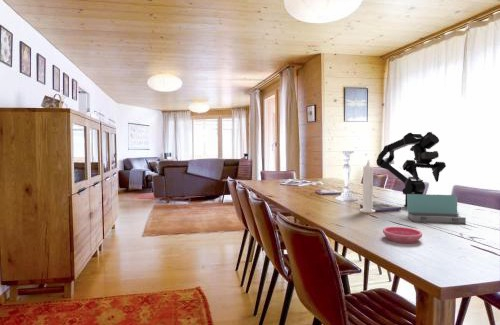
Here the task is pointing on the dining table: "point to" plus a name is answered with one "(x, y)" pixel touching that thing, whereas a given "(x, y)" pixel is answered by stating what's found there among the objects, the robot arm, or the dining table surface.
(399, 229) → the saucer
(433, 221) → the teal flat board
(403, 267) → the dining table surface
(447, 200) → the cover
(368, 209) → the candle
